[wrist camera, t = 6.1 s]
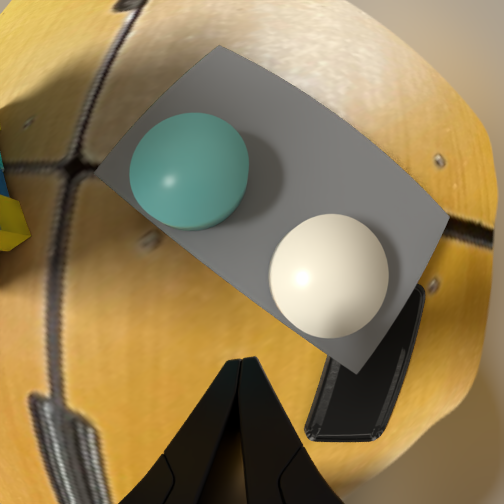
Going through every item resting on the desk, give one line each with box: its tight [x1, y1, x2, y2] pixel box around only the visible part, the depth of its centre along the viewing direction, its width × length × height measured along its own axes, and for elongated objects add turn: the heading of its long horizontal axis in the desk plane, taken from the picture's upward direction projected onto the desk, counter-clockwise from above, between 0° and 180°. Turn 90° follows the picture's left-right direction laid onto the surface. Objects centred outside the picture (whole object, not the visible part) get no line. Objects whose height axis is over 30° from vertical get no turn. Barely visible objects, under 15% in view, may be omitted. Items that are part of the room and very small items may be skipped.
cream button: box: [268, 214, 389, 338], centre depth 14 cm, size 5×5×5 cm
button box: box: [94, 45, 450, 374], centre depth 18 cm, size 11×18×8 cm, turn 53°
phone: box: [304, 284, 425, 442], centre depth 21 cm, size 8×1×15 cm
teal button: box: [129, 113, 249, 231], centre depth 14 cm, size 5×5×5 cm
